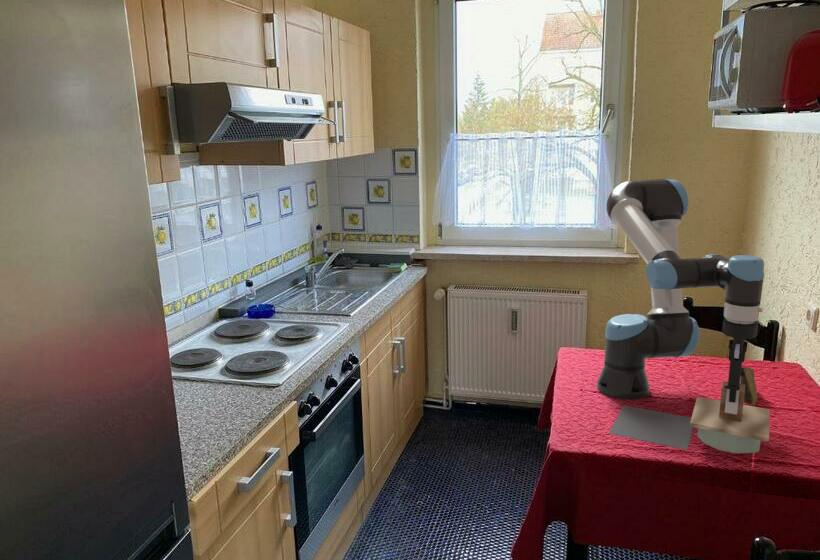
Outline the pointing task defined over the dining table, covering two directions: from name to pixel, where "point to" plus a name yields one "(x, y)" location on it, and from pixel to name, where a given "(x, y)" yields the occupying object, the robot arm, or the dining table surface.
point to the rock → (749, 386)
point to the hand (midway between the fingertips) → (731, 406)
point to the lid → (731, 417)
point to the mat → (653, 427)
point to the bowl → (729, 442)
